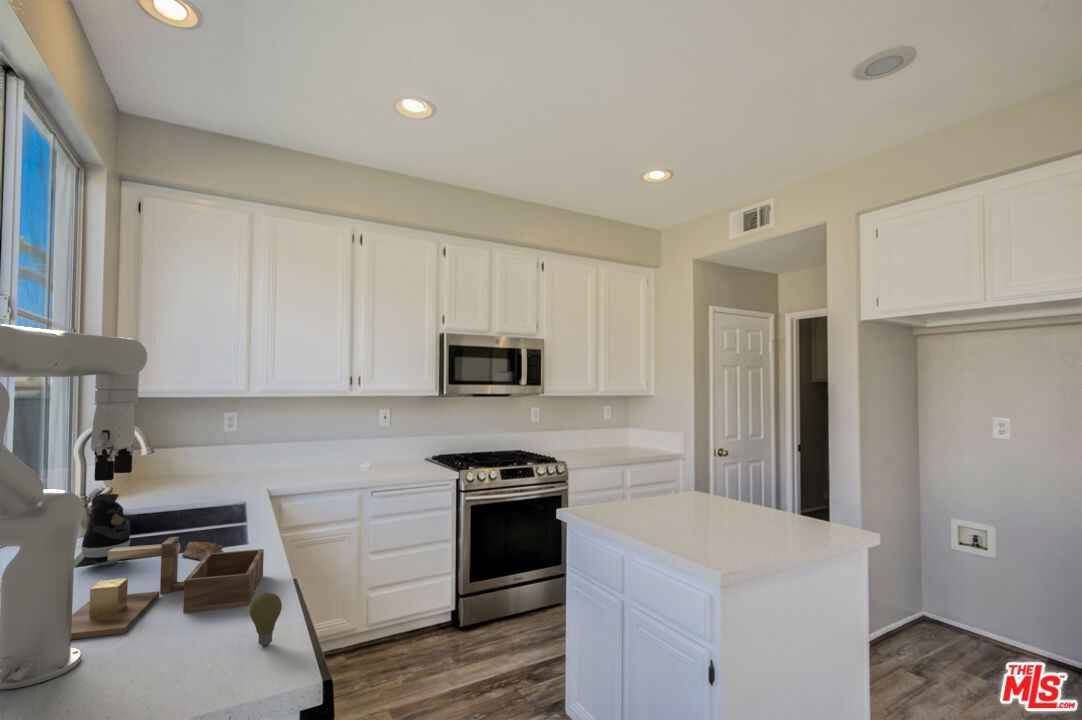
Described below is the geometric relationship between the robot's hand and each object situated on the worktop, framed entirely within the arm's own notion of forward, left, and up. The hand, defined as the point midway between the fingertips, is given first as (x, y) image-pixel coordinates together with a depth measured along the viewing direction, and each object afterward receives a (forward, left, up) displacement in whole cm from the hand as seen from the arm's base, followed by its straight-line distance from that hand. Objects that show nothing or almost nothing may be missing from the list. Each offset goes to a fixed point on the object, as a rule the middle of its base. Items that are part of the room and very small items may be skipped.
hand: (113, 476), depth 120 cm
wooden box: (+8, -17, -30) cm, 36 cm away
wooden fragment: (+46, -7, -31) cm, 56 cm away
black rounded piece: (+40, +15, -31) cm, 52 cm away
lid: (0, 0, -31) cm, 31 cm away
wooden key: (+15, -2, -22) cm, 26 cm away
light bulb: (-24, -34, -31) cm, 52 cm away
